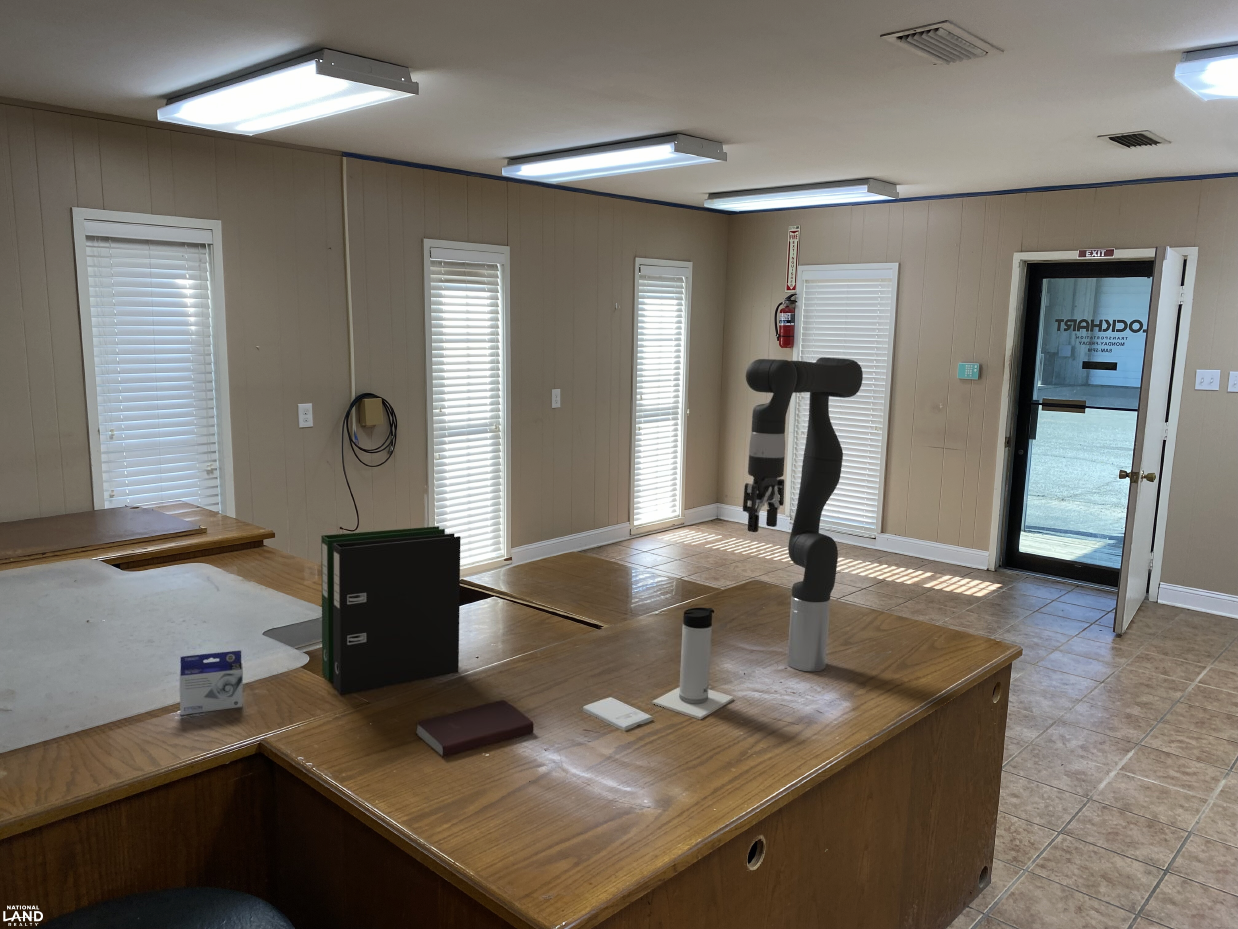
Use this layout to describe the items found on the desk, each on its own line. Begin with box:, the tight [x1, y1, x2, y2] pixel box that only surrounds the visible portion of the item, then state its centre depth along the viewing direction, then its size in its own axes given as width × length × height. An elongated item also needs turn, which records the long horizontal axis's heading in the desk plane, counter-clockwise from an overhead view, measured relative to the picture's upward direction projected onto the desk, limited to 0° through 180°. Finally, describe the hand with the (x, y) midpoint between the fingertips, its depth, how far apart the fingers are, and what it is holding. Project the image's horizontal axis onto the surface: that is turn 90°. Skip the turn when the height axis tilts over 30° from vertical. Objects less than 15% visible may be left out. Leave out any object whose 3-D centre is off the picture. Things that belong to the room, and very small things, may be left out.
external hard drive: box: [582, 697, 653, 732], centre depth 176 cm, size 2×8×12 cm
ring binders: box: [320, 525, 462, 697], centre depth 192 cm, size 27×15×32 cm, turn 124°
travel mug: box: [679, 606, 715, 704], centre depth 184 cm, size 6×7×20 cm
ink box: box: [179, 649, 244, 716], centre depth 171 cm, size 12×2×12 cm, turn 117°
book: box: [414, 699, 534, 759], centre depth 165 cm, size 12×19×3 cm, turn 127°
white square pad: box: [651, 686, 734, 720], centre depth 185 cm, size 14×12×1 cm
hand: (762, 529), depth 183 cm, fingers open, 8 cm apart
